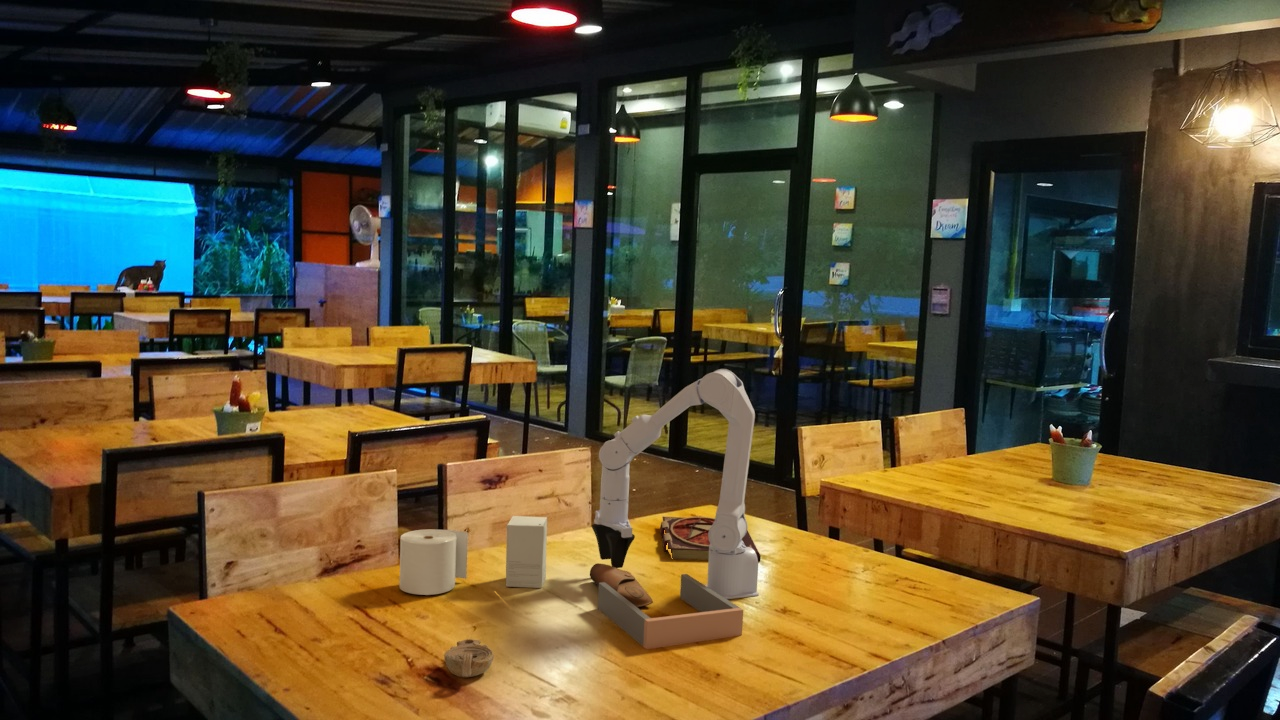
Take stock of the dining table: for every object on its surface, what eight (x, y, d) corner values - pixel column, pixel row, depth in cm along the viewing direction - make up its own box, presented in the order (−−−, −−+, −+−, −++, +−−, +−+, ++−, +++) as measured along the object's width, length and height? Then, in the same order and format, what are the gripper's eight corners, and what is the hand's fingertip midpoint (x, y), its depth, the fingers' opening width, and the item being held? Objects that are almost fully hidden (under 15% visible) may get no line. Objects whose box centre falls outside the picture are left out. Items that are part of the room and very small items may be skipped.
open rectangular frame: (685, 599, 187) (686, 573, 187) (741, 637, 168) (743, 609, 168) (597, 609, 180) (598, 582, 179) (646, 650, 161) (647, 621, 160)
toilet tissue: (387, 590, 185) (388, 538, 184) (424, 573, 196) (425, 524, 196) (434, 599, 181) (436, 546, 181) (469, 581, 192) (470, 532, 192)
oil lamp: (448, 655, 155) (449, 625, 155) (495, 656, 156) (496, 626, 156) (438, 690, 142) (439, 657, 142) (489, 691, 143) (490, 658, 142)
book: (760, 566, 213) (761, 544, 213) (664, 563, 213) (665, 540, 212) (743, 532, 241) (744, 512, 241) (658, 529, 241) (659, 509, 240)
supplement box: (546, 577, 197) (548, 516, 196) (541, 589, 190) (544, 525, 189) (510, 575, 197) (512, 514, 196) (504, 587, 190) (506, 524, 189)
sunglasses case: (656, 601, 181) (637, 574, 179) (627, 625, 179) (607, 599, 178) (629, 572, 198) (611, 547, 196) (602, 594, 197) (583, 569, 195)
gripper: (583, 490, 201) (580, 554, 202) (610, 507, 188) (607, 575, 189) (614, 489, 204) (611, 552, 205) (643, 505, 191) (639, 572, 192)
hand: (611, 563), depth 197 cm, fingers open, 5 cm apart
